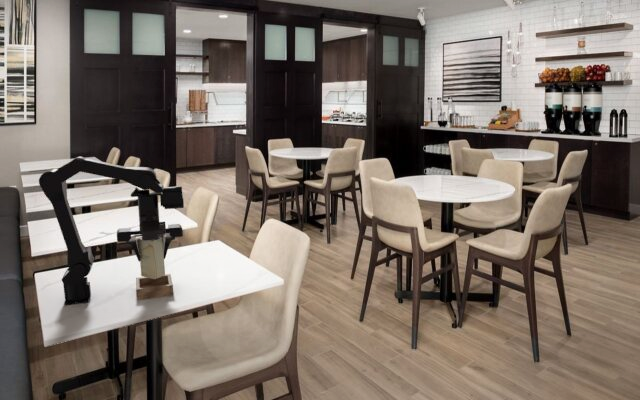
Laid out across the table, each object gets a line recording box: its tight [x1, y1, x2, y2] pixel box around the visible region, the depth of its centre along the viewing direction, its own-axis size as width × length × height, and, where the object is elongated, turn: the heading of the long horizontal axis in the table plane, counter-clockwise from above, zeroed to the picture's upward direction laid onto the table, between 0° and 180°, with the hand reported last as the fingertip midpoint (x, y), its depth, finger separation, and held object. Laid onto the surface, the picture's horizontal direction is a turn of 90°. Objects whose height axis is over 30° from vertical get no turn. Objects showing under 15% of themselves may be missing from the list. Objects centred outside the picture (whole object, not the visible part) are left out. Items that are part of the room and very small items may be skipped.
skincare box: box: [137, 236, 166, 279], centre depth 161 cm, size 6×4×12 cm
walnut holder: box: [135, 273, 174, 301], centre depth 163 cm, size 11×11×3 cm
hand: (151, 259), depth 161 cm, fingers closed on skincare box, 7 cm apart
